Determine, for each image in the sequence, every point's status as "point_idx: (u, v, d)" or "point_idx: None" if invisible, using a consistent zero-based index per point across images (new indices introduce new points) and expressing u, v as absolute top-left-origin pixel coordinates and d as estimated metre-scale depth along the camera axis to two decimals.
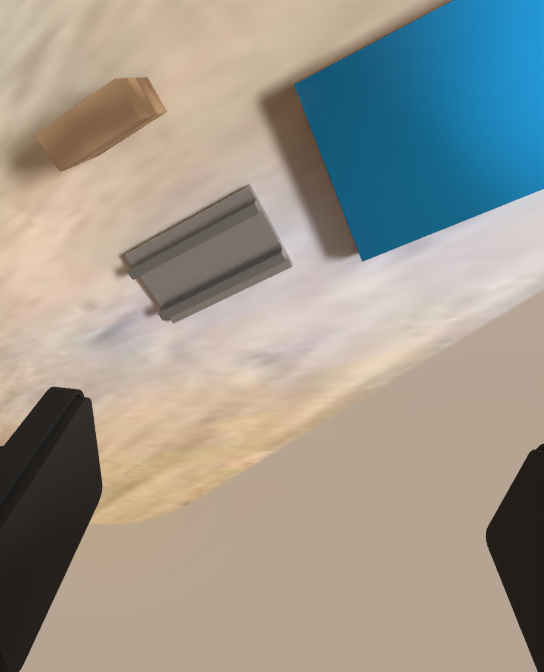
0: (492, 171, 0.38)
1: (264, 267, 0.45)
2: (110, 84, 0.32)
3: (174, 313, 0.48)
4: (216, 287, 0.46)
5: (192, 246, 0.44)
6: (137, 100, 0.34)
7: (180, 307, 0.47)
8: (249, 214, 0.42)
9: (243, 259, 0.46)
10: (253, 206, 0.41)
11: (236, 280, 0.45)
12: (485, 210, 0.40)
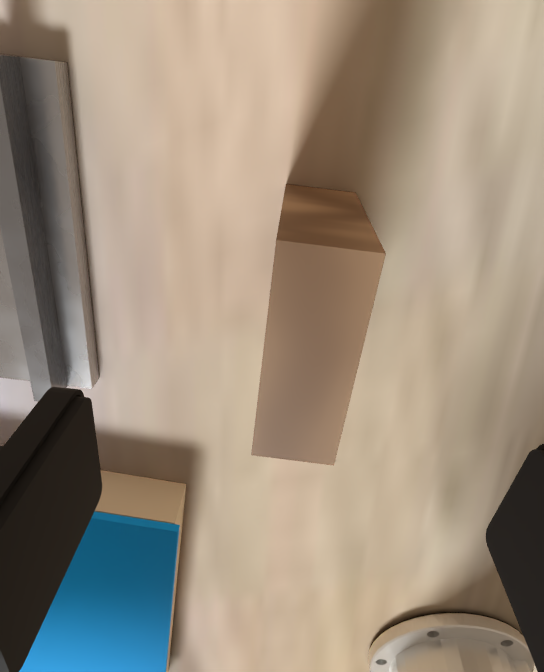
0: None
1: None
2: (333, 454, 0.16)
3: None
4: None
5: (10, 260, 0.19)
6: None
7: None
8: (37, 386, 0.22)
9: None
10: None
11: None
12: None
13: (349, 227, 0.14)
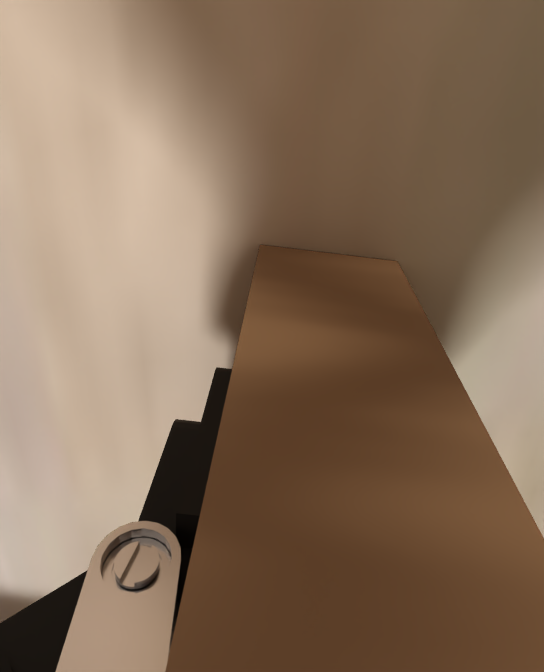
0: None
1: None
2: None
3: None
4: None
5: None
6: None
7: None
8: None
9: None
10: None
11: None
12: None
13: (429, 455, 0.05)
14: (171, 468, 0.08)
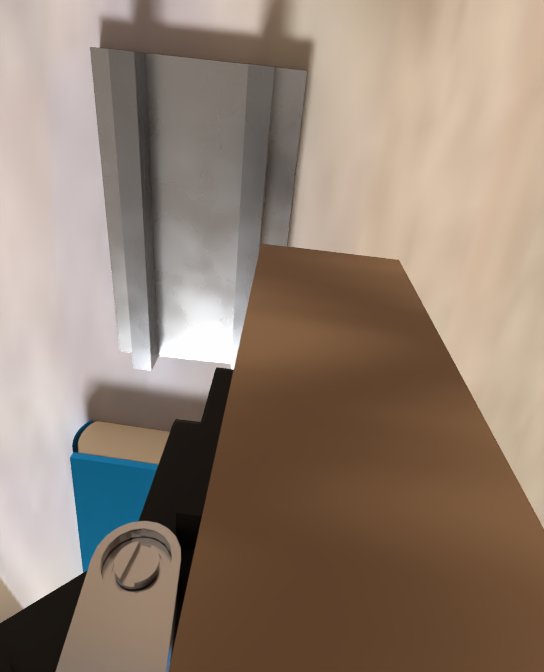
0: None
1: (138, 335, 0.24)
2: None
3: (116, 97, 0.18)
4: (138, 235, 0.21)
5: (240, 251, 0.21)
6: None
7: (125, 125, 0.18)
8: None
9: (168, 293, 0.24)
10: None
11: (136, 278, 0.22)
12: (84, 567, 0.33)
13: (432, 453, 0.05)
14: (171, 468, 0.08)
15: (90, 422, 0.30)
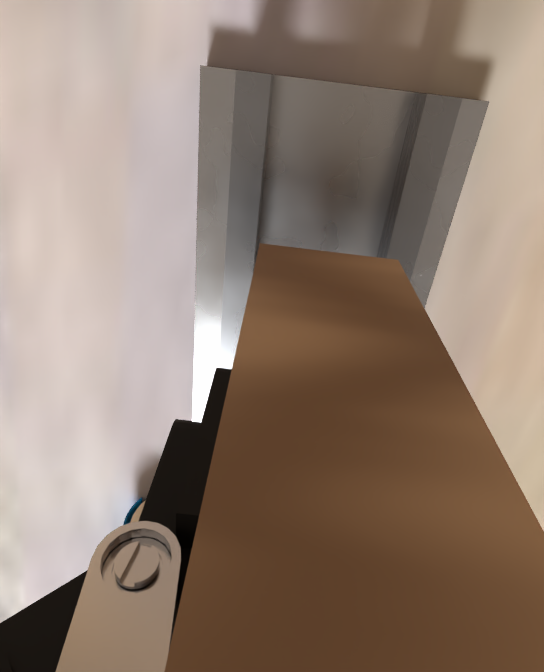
0: None
1: None
2: None
3: (238, 133, 0.13)
4: (242, 305, 0.16)
5: None
6: None
7: (246, 169, 0.14)
8: None
9: None
10: None
11: (232, 356, 0.17)
12: None
13: (431, 453, 0.05)
14: (171, 468, 0.08)
15: (140, 500, 0.25)
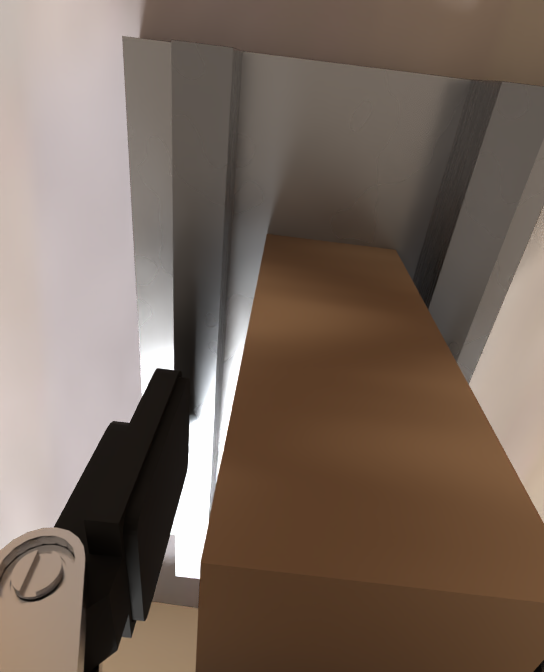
0: None
1: (187, 535, 0.14)
2: None
3: (182, 149, 0.08)
4: (203, 398, 0.11)
5: None
6: None
7: (198, 206, 0.09)
8: None
9: None
10: None
11: (193, 461, 0.12)
12: None
13: (420, 408, 0.05)
14: (98, 472, 0.08)
15: None
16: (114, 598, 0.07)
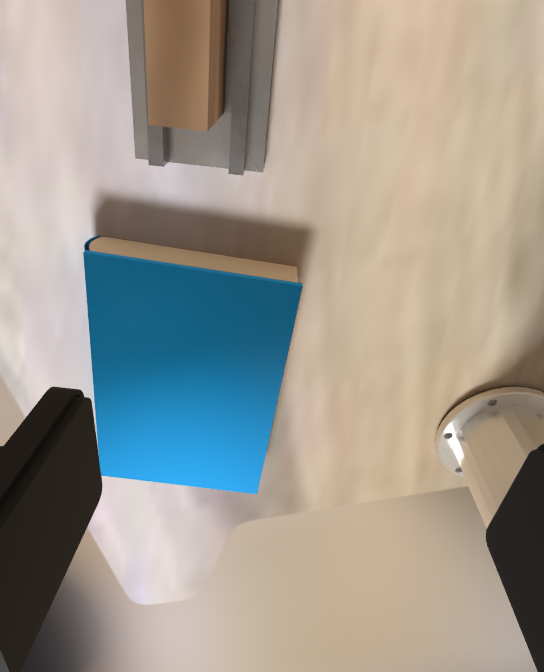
0: (130, 391, 0.40)
1: (153, 129, 0.29)
2: (205, 120, 0.23)
3: None
4: None
5: (237, 43, 0.26)
6: None
7: None
8: (233, 159, 0.30)
9: None
10: (240, 171, 0.30)
11: None
12: (94, 375, 0.39)
13: None
14: None
15: (97, 238, 0.35)
16: None
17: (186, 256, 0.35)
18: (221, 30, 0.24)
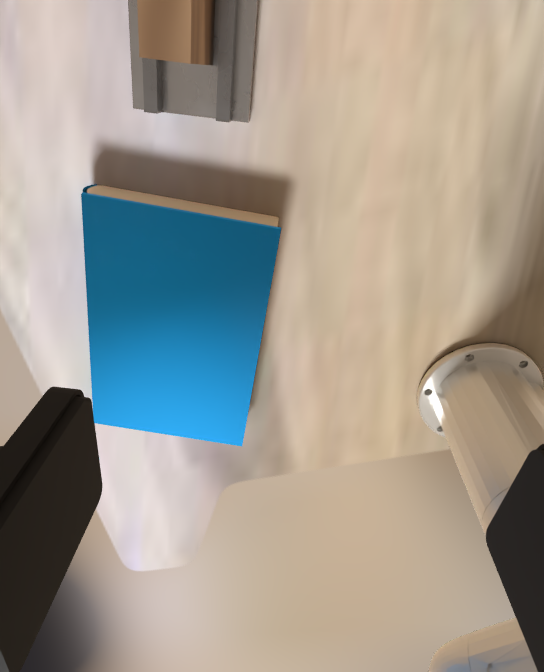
0: (122, 334, 0.42)
1: (148, 78, 0.32)
2: (188, 52, 0.26)
3: None
4: None
5: None
6: None
7: None
8: (220, 107, 0.33)
9: None
10: (226, 118, 0.33)
11: None
12: (89, 318, 0.42)
13: None
14: None
15: (96, 186, 0.39)
16: None
17: (175, 203, 0.38)
18: None
